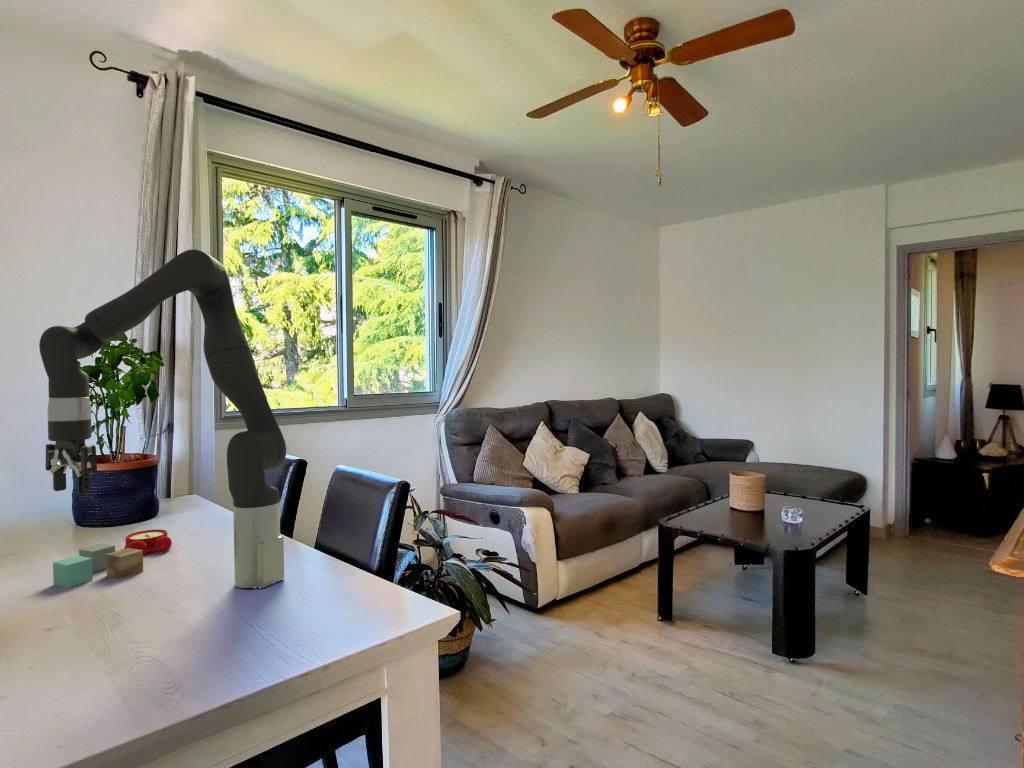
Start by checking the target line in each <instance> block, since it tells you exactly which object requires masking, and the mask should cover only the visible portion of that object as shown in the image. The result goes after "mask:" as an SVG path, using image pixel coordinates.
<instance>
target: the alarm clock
mask: <svg viewBox="0 0 1024 768" xmlns="http://www.w3.org/2000/svg"><path fill="white" fill-rule="evenodd" d="M172 543H173V542H172V539H171V537H170V536H168V531H167V530H165V529H145V530H140V531H137V532H132V533H129V534H127V535H126V536H125V544H124V547H123V549H127V548H132V549H138V550H143V556H144V555H147V554H148V553H149V554H154V553H158V554H161V553H160V552H163V553H165V551H166V552H168V551H169V550H170V549H171V547H172Z"/></svg>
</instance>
